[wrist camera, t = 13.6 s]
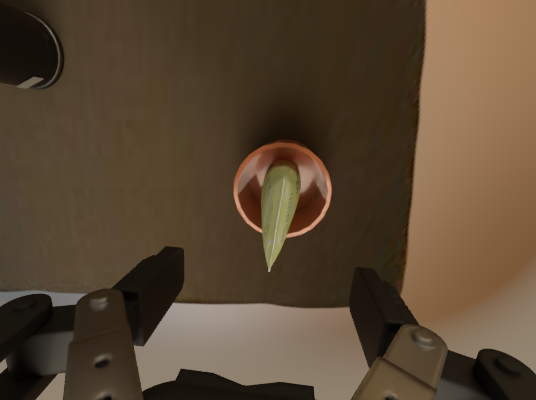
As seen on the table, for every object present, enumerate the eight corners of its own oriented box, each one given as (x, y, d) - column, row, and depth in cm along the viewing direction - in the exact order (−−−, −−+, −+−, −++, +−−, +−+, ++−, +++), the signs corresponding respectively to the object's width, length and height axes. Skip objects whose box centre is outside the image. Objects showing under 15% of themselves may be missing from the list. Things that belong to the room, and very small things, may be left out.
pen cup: (244, 210, 40) (231, 232, 31) (248, 136, 37) (235, 138, 29) (317, 217, 39) (324, 242, 31) (326, 142, 37) (338, 146, 28)
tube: (309, 185, 38) (327, 242, 19) (279, 203, 39) (268, 273, 20) (288, 152, 37) (285, 176, 18) (258, 171, 38) (225, 213, 19)
